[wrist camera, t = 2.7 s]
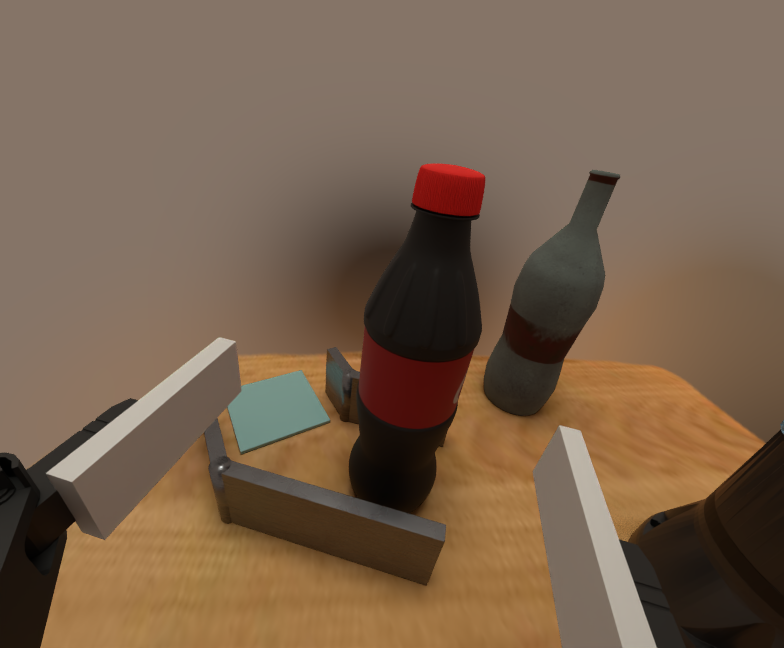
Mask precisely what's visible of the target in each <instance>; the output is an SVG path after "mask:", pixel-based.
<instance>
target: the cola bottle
mask: <svg viewBox="0 0 784 648" xmlns="http://www.w3.org/2000/svg"><path fill="white" fill-rule="evenodd" d="M484 188H485V176H484V175H483V174H481V173H480V172H477V171H475V170H472V169H469V168H465V167H461V166H456V165H449V164H426V165H422V166H421V168H420V170H419V173H418V176H417V180H416V184H415V188H414V193H413V198H412V203H411V207H412V208H413V209H414V210H416V214H415V217H414V220H413V222H412V225H411V228H410V230H409V233H408V235H407V238H406V239H405V241H404V243H403V244H402V246H401V247H400V249H399V250H398V252H397V253H396V255H395V256H394V258H393V259H392V261H391V262H390V264H389V265H388V267H387V268H386V270H385V271H384V273H383V274H382V276H381V278H380V279H379V281H378V283H377V285H376V287H375V289H374V290H373V292H372V294H371V296H370V298H369V300H368V302H367V304H366V307H365V312H364V324H365V330H364V339H363V349H362V359H361V369H360V378H359V382H358V385H357V393H356V401H357V411H358V421H359V430H360V436H359V437H358V439H357V440H356V442H355V444H354V446H353V448H352V451H351V454H350V459H349V475H350V480H351V484H352V487H353V490H354V492H355V494H356V496H357V497H358V499H361V500H364V501H368V502H371V503H374V504H378V505H381V506H385V507H388V508H391V509H395V510H398V511H401V512H405V513H410V512H411V511H413V510H414V509H416V508H417V507H418V506H419V505H420V504H421V503H422V502H423V501H424V500H425V499H426V497H427V496H428V494H429V493H430V491H431V489H432V487H433V484H434V481H435V477H436V457H435V451H436V449H437V448H438V446H439V444H440V442H441V441H442V439H443V437H444V435H445V434H446V432H447V430H448V428H449V427H450V425H451V423H452V421H453V419H454V416H455V414H456V411H457V406H458V399H459V396H460V392H461V389H462V386H463V383H464V380H465V377H466V373H467V370H468V367H469V364H470V361H471V358H472V354H473V351H474V348H475V347H476V346H477V344H478V342H479V338H480V335H481V332H482V323H481V311H480V302H479V294H478V288H477V283H476V278H475V273H474V268H473V263H472V259H471V252H470V236H471V220H476V219H478V218H479V216H480V215H479V213H480V210H481V204H482V200H483V194H484Z"/></svg>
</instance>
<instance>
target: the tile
mask: <svg viewBox="0 0 784 648" xmlns="http://www.w3.org/2000/svg"><path fill="white" fill-rule="evenodd" d="M241 390H242V391H241V392H240V393H239V394H238V396H237V397H236V398H235V399H234V400H233V401H232V402H231V403H230V404H229V405H228V406H227V408H228V411H229V415H230V418H231V421H232V425H233V428H234V432H235V435H236V439H237V442H238V446H239V449H240V452H241V454H244V453H246V452H249V451H252V450H255V449H257V448H260V447H263V446H266V445H268V444H271V443H274V442H277V441H280V440H282V439H285V438H288V437H291V436H293V435H296V434H299V433H302V432H305V431H307V430H310V429H313V428H316V427H318V426H321V425H324V424H327V423H329V422H330V419H329V417H328V415H327V413H326V412H325V410H324V408H323V407H322V405H321V403H320V401H319V400H318V398H317V396H316V395H315V393H314V391H313V389H312V388H311V386H310V384H309V383H308V381H307V379H306V377H305V376H304V374H303V372H302V370H300V371H296V372H292V373H289V374H285V375H281V376H277V377H273V378H270V379H266V380H262V381H258V382H254V383H251V384H247V385H243V386H241Z"/></svg>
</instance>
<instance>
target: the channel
mask: <svg viewBox="0 0 784 648" xmlns="http://www.w3.org/2000/svg"><path fill="white" fill-rule="evenodd" d="M359 378H360V372H358V371H356V370H354V369H352V368H351V366H350V365H349V364H348V362H347V361H346V360H345V358H344V357H343V356H342V354H341V353H340V352H339V350H338V349H337V348H336V347H335V348H331V349H327V362H326V391H325V392H326V394H327V395H328V397H329V399H330V400H331V402H332V403H333V405H334V407H335V408H336V410H337V412H338V413H339V415H340V419H341V420H342V421H344V422H352V423H356V424H359V421H358V411H357V401H356V393H357V385H358V382H359ZM447 431H448V430H447ZM204 434H205V439H206V443H207V448H208V453H209V458H210V465H209V473H210V477H211V481H212V485H213V489H214V493H215V497H216V501H217V505H218V509H219V513H220V517H221V520H222V522H224V523H227V524H229V523H234V524H238V525H241V526H244V527H247V528H250V529H253V530H256V531H259V532H262V533H265V534H268V535H272V536H275V537H278V538H281V539H284V540H287V541H290V542H293V543H296V544H299V545H303V546H306V547H309V548H312V549H315V550H318V551H321V552H324V553H327V554H330V555H333V556H337V557H340V558H343V559H346V560H349V561H352V562H355V563H358V564H361V565H364V566H367V567H371V568H374V569H377V570H380V571H383V572H386V573H389V574H392V575H395V576H398V577H402V578H405V579H408V580H411V581H414V582H417V583H420V584H423V585H426V586H427V583H428V581H429V578H430V576H431V574H432V571H433V569H434V566H435V564H436V561H437V559H438V556H439V554H440V552H441V549H442V547H443V544H444V542H445V530H446V525H445V524H441V523H438V522H435V521H431V520H428V519H425V518H421V517H418V516H415V515H411V514H408V513H405V512H401V511H398V510H395V509H391V508H388V507H385V506H381V505H378V504H374V503H371V502H368V501H364V500H361V499H358V498H354V497H351V496H348V495H344V494H341V493H338V492H334V491H331V490H328V489H324V488H321V487H318V486H314V485H311V484H307V483H304V482H301V481H297V480H294V479H291V478H287V477H284V476H281V475H277V474H274V473H271V472H267V471H264V470H261V469H257V468H254V467H251V466H247V465H244V464H240V463H237V462H234V461H231V460H230V458H228V457H227V455H226V451H225V447H224V443H223V439H222V435H221V431H220V427H219V423H218V419H217V418H216V419H215V421H214V422H213V423H212V424H211V425H210V426H209V427H208V428H207V429H206V430H205V431H204ZM446 434H447V432H446ZM446 434H445V435H444V437H443V439H442V441H441V442H440V444H439V446H441V447H443V444H444V440H445V437H446Z"/></svg>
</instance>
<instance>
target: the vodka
mask: <svg viewBox="0 0 784 648" xmlns="http://www.w3.org/2000/svg"><path fill="white" fill-rule="evenodd" d="M619 178H620V175H619V174H615V173H610V172H604V171H598V170H592V171H590V176H589V179H588V181H587V183H586V186H585V188H584V190H583V193H582V195H581V198H580V200H579V202H578V205H577V207H576V209H575V212H574V214H573V216H572V219H571V221H570V223H569V224H568V225H567V226H565V227H564V228H563V229H561V230H560V231H559V232H558V233H557V234H555V235H554V236H553V237H552V238H550V239H549V240H548V241H547V242H545V243H544V244H543V245H542V246H540V247H539V248H538V249H537V250H535V251H534V252H533V253H532V254H531V255H530V257H529V258H528V260H527V261H526V263H525V264H524V266H523V268H522V270H521V273H520V275H519V277H518V279H517V281H516V283H515V285H514V290H513V295H512V299H511V304H510V308H509V312H508V315H507V319H506V323H505V326H504V330H503V334H502V336H501V338H500V339H499V341H498V343H497V344H496V346H495V348H494V350H493V352H492V354H491V356H490V358H489V360H488V362H487V365H486V370H485V375H484V391H485V394H486V396H487V397H488V399H489V400H490V401H491V402H492V403H493V404H494V405H496V406H497V407H499V408H500V409H502V410H504V411H506V412H509V413H511V414H515V415H520V416H523V415H531V414H534V413H536V412H537V411H538V410H539V409H540V408H541V407H542V406H543V405H544V404H545V403H546V401H547V400H548V399H549V397H550V396H551V394H552V393H553V392H554V390H555V387H556V384H557V381H558V378H559V375H560V372H561V368H562V365H563V361H564V358H565V356H566V354H567V353H568V351H569V350H570V348H571V346H572V345H573V343H574V342H575V340H576V338H577V337H578V335H579V333H580V332H581V330H582V328H583V327H584V325H585V324H586V322H587V321H588V319H589V318H590V316H591V315H592V314H593V312H594V311H595V309H596V307H597V304H598V301H599V299H600V295H601V293H602V290H603V287H604V280H605V271H604V266H603V261H602V255H601V250H600V245H599V240H598V234H597V227H598V225H599V223H600V220H601V218H602V216H603V213H604V211H605V208H606V206H607V204H608V202H609V199H610V197H611V194H612V192H613V190H614V187H615V185H616V182H617V180H618V179H619Z"/></svg>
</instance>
